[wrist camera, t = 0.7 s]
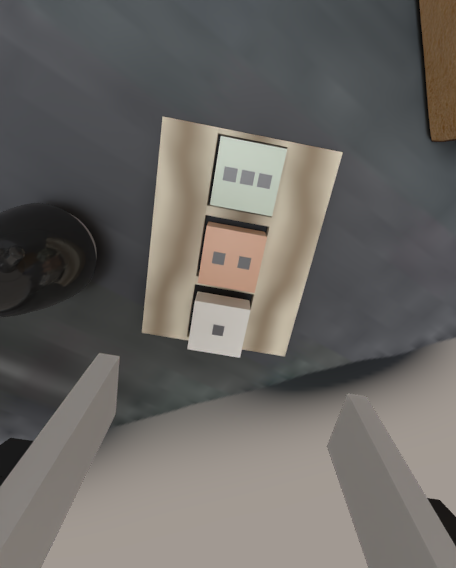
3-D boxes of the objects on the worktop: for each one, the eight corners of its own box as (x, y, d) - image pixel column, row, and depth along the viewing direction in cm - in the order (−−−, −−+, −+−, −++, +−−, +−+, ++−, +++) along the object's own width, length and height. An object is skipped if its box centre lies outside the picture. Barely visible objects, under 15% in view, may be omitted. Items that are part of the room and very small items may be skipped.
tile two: (200, 274, 34) (197, 283, 32) (208, 221, 32) (206, 225, 30) (252, 284, 35) (254, 293, 32) (264, 231, 33) (267, 237, 30)
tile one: (190, 336, 37) (187, 349, 35) (197, 291, 35) (194, 301, 33) (239, 345, 37) (239, 358, 35) (249, 300, 35) (250, 310, 33)
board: (145, 326, 39) (141, 332, 38) (165, 118, 31) (162, 116, 30) (282, 350, 40) (284, 356, 39) (338, 153, 32) (342, 152, 31)
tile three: (211, 202, 32) (209, 204, 29) (221, 138, 30) (220, 135, 27) (268, 212, 32) (272, 216, 29) (282, 151, 30) (287, 148, 27)
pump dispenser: (128, 257, 36) (60, 313, 22) (63, 300, 38) (-38, 377, 24) (69, 180, 33) (-53, 186, 19) (2, 231, 36) (-153, 271, 21)
